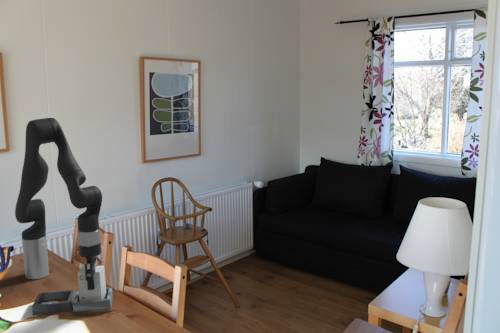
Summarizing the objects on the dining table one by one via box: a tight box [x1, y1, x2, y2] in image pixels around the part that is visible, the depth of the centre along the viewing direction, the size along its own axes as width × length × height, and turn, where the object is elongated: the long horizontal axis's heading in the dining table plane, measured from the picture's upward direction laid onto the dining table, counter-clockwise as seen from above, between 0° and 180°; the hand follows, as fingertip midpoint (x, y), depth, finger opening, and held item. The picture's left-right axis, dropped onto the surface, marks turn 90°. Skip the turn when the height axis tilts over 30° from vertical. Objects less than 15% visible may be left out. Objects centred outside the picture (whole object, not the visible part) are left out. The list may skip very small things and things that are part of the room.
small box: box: [76, 265, 107, 302], centre depth 163 cm, size 8×6×13 cm
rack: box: [72, 286, 114, 317], centre depth 163 cm, size 12×13×4 cm
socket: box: [31, 289, 76, 316], centre depth 163 cm, size 11×12×4 cm
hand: (92, 284), depth 162 cm, fingers open, 8 cm apart
